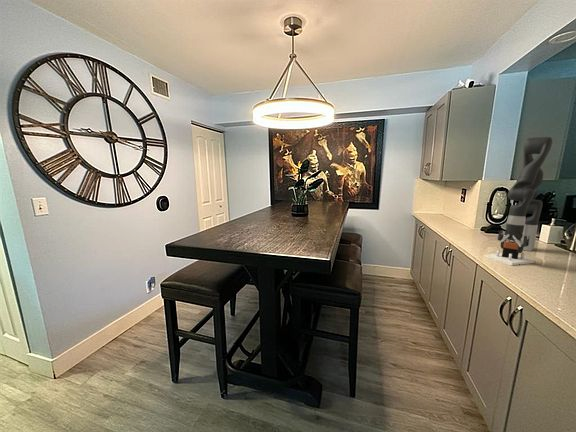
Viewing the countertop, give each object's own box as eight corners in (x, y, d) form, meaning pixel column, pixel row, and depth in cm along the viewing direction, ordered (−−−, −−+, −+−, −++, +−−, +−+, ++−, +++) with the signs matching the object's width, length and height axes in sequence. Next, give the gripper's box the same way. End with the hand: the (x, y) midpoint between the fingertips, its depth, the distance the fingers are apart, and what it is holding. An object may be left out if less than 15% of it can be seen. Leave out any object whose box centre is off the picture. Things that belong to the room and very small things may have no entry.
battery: (517, 259, 137) (520, 242, 136) (501, 256, 142) (504, 240, 140) (517, 257, 140) (520, 241, 139) (502, 255, 145) (504, 238, 143)
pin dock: (507, 254, 150) (508, 246, 149) (534, 262, 137) (536, 254, 136) (485, 257, 146) (486, 249, 145) (511, 265, 132) (513, 256, 131)
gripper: (535, 225, 132) (530, 254, 135) (506, 220, 145) (502, 246, 148) (525, 226, 130) (520, 255, 133) (497, 221, 143) (492, 247, 146)
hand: (510, 250), depth 140 cm, fingers open, 8 cm apart
